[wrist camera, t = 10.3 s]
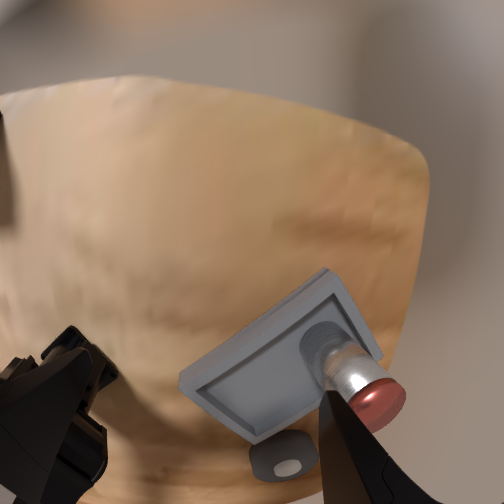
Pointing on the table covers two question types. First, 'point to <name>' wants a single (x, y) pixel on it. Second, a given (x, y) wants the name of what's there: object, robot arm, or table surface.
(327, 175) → the table surface
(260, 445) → the trolley wheel
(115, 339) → the table surface
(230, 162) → the table surface
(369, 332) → the tray
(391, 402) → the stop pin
